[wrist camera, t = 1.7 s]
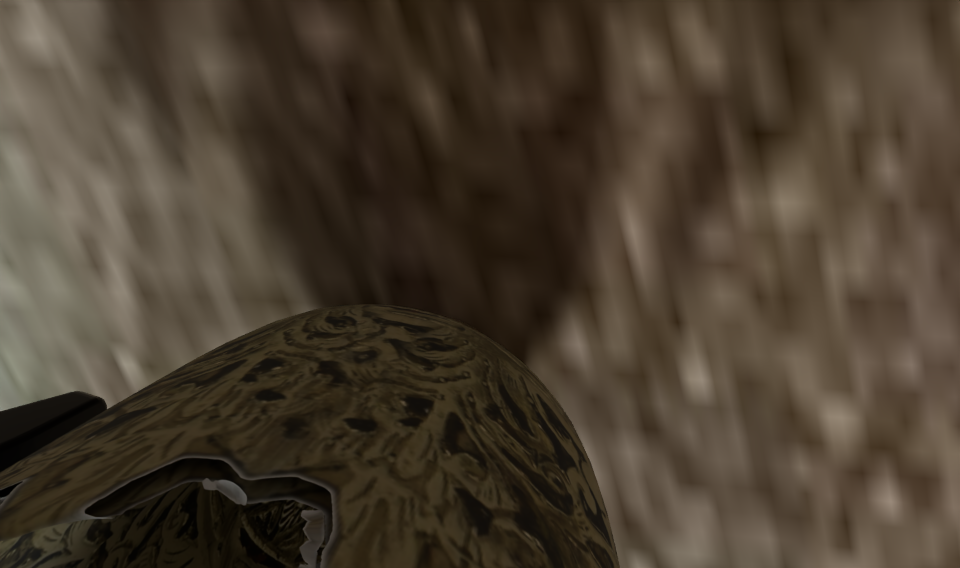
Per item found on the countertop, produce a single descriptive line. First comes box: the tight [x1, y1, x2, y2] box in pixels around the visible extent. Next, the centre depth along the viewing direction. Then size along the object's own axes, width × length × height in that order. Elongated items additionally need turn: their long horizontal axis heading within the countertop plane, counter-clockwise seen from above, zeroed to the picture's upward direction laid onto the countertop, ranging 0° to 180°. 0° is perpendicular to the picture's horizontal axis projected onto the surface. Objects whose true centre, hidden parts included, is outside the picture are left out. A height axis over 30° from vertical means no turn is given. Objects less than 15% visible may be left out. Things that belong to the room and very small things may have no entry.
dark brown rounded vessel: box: [0, 304, 620, 568], centre depth 8 cm, size 8×7×8 cm
